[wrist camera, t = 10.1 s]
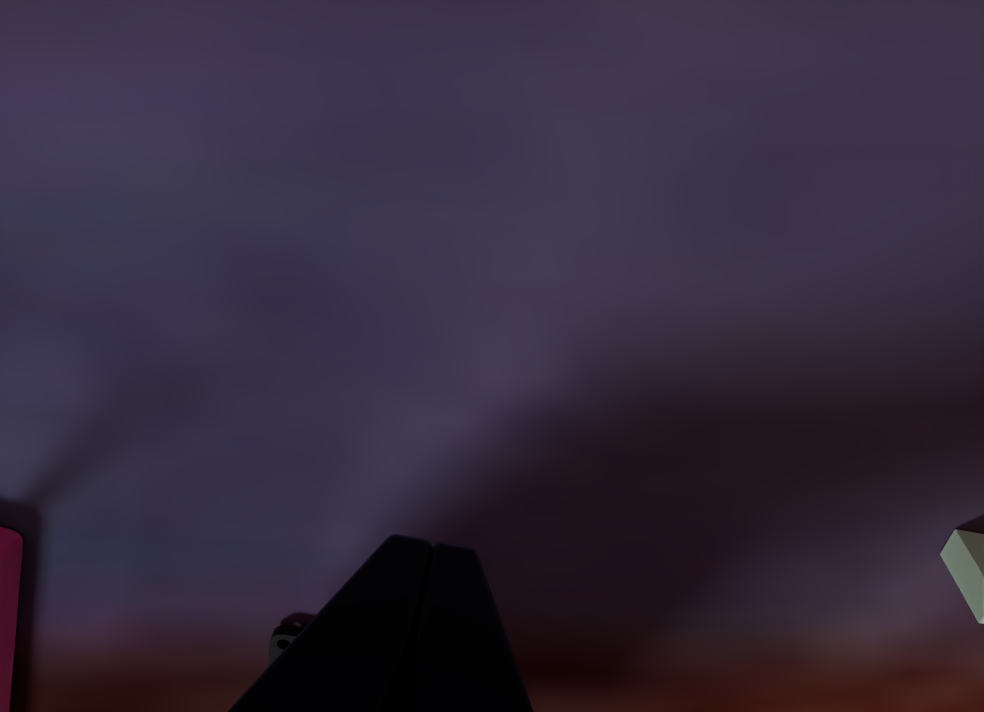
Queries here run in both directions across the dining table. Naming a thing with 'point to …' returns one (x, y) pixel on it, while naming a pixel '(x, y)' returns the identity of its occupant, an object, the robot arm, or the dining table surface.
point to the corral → (967, 567)
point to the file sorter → (8, 607)
